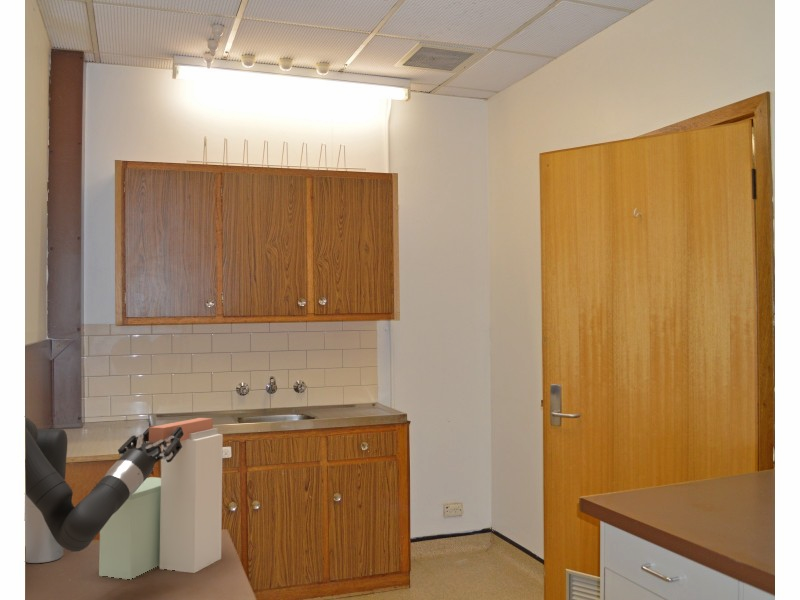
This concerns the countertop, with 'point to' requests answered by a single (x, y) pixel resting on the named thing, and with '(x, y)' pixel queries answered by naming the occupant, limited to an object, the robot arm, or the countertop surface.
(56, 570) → the countertop surface
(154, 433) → the long salmon orange block
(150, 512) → the pale mint green block
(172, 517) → the stand
